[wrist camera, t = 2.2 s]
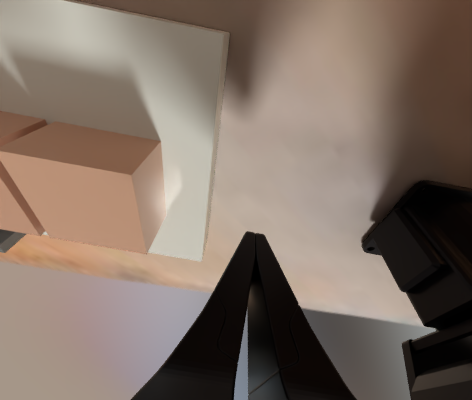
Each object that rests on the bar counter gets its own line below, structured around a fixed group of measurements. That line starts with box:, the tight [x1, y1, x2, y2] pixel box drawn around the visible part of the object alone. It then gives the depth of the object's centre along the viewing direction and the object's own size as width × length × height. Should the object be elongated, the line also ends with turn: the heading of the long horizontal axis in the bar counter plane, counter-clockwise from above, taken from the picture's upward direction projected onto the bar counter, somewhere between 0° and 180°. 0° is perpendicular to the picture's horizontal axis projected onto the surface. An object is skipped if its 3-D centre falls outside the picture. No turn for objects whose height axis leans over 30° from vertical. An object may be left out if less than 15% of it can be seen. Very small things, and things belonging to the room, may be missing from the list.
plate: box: [0, 0, 230, 262], centre depth 12 cm, size 14×14×2 cm
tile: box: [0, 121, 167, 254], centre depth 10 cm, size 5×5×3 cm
